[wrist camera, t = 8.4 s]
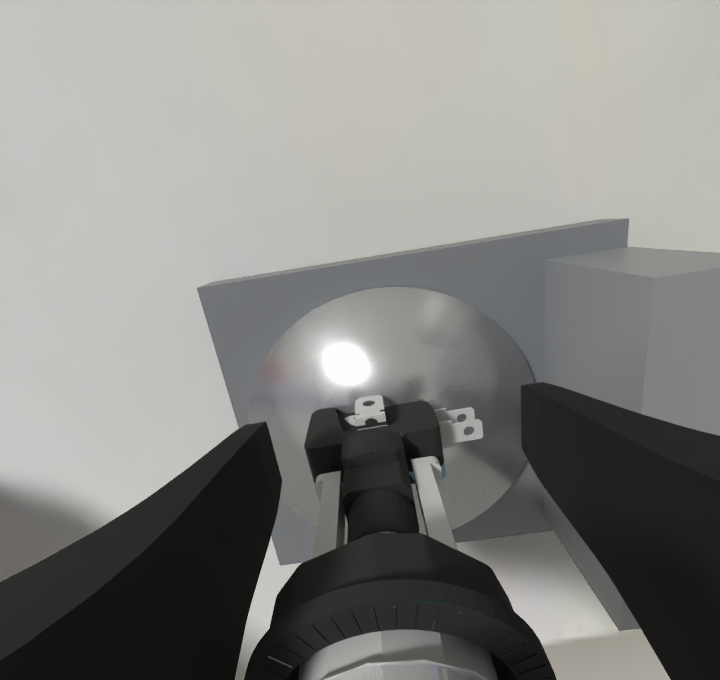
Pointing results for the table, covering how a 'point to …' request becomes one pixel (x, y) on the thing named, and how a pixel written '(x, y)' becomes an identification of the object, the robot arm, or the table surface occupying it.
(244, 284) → the postal scale
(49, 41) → the table surface
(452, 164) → the table surface
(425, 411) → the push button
